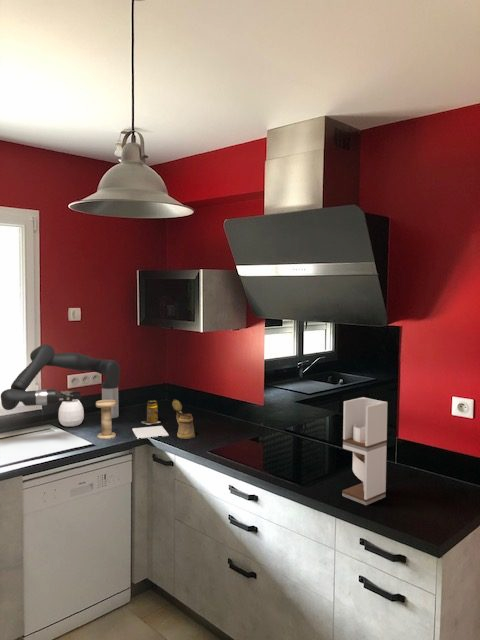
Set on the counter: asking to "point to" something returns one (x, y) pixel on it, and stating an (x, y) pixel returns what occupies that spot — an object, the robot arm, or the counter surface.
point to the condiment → (152, 412)
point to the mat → (149, 432)
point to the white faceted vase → (71, 413)
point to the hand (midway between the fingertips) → (80, 395)
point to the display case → (366, 447)
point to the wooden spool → (106, 418)
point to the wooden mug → (183, 422)
